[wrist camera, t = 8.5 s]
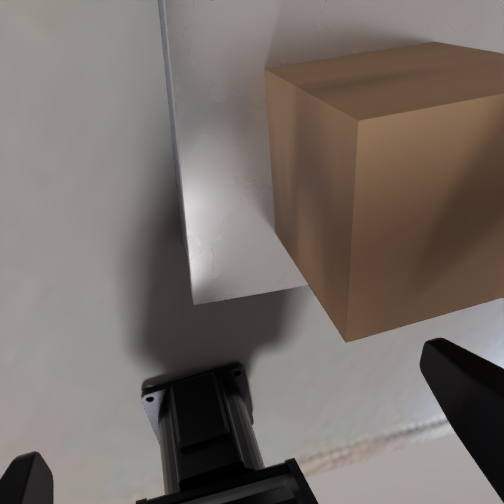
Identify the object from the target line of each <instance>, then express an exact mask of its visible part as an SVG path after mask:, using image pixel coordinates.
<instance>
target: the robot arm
mask: <svg viewBox="0 0 504 504" xmlns="http://www.w3.org/2000/svg"><path fill="white" fill-rule="evenodd" d="M420 369H421V372H422V374H423V376H424V378H425V380H426V381H427V383H428V385H429V387H430V389H431V390H432V392H433V394H434V396H435V398H436V399H437V401H438V403H439V405H440V407H441V409H442V410H443V412H444V414H445V416H446V418H447V419H448V421H449V423H450V424H451V426H452V428H453V429H454V431H455V433H456V434H457V436H458V437H459V438H460V440H461V442H462V443H463V444H464V446H465V447H466V449H467V450H468V452H469V453H470V455H471V456H472V457H473V459H474V460H475V462H476V463H477V465H478V466H479V468H480V469H481V470H482V472H483V473H484V475H485V476H486V478H487V479H488V481H489V482H490V484H491V485H492V486H493V488H494V489H495V491H496V492H497V494H498V495H499V497H500V498H501V500H502V501H503V503H504V369H503V368H501V367H499V366H497V365H495V364H494V363H492V362H490V361H488V360H486V359H484V358H482V357H480V356H478V355H476V354H474V353H472V352H470V351H468V350H466V349H464V348H462V347H460V346H458V345H456V344H454V343H452V342H450V341H448V340H446V339H444V338H435V339H432V340H428V341H426V342H425V343H424V346H423V350H422V355H421V359H420ZM141 398H142V404H143V406H144V408H145V411H146V413H147V415H148V418H149V420H150V423H151V425H152V427H153V430H154V432H155V435H156V437H157V439H158V442H159V444H160V449H161V459H162V470H163V480H164V490H165V495H163V496H160V497H156V498H153V499H149V500H147V498H145V499H142V500H138V501H136V504H318V502H317V500H316V498H315V496H314V494H313V493H312V491H311V489H310V487H309V485H308V483H307V481H306V479H305V477H304V475H303V473H302V472H301V470H300V468H299V466H298V464H297V462H296V460H295V458H292V459H288V460H285V462H284V463H280V464H277V465H273V466H269V467H266V468H265V466H264V463H263V460H262V457H261V454H260V450H259V447H258V444H257V441H256V438H255V434H254V431H253V428H252V425H253V422H254V421H253V416H252V410H251V404H250V398H249V392H248V387H247V381H246V375H245V370H244V367H243V365H242V364H240V363H235V364H231V365H228V366H225V367H221V368H218V369H214V370H211V371H207V372H204V373H201V374H197V375H194V376H190V377H187V378H184V379H180V380H177V381H173V382H170V383H166V384H163V385H160V386H156V387H153V388H149V389H146V390H144V391H143V392H142V394H141ZM0 504H53V476H52V472H51V470H50V469H49V467H48V466H47V464H46V462H45V461H44V459H43V458H42V456H41V455H40V453H39V452H36V451H34V452H30V453H27V454H23V455H20V456H17V457H16V458H15V459H14V460H13V461H12V462H11V464H10V465H9V467H8V468H7V470H6V471H5V473H4V474H3V476H2V478H1V479H0Z"/></svg>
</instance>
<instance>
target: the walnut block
mask: <svg viewBox="0 0 504 504" xmlns="http://www.w3.org/2000/svg"><path fill="white" fill-rule="evenodd" d="M264 74H265V88H266V102H267V117H268V131H269V145H270V159H271V174H272V188H273V202H274V217H275V231H276V235H277V237H278V238H279V240H280V242H281V243H282V245H283V246H284V248H285V249H286V251H287V252H288V254H289V255H290V257H291V259H292V260H293V262H294V263H295V265H296V266H297V268H298V269H299V271H300V272H301V274H302V276H303V277H304V279H305V280H306V282H307V283H308V285H309V286H310V288H311V290H312V291H313V293H314V294H315V296H316V297H317V299H318V300H319V302H320V303H321V305H322V307H323V308H324V310H325V311H326V313H327V314H328V316H329V317H330V319H331V320H332V322H333V324H334V325H335V327H336V328H337V330H338V331H339V333H340V334H341V336H342V338H343V339H344V341H345V342H346V343H347V342H350V341H354V340H357V339H361V338H364V337H368V336H371V335H375V334H378V333H382V332H385V331H388V330H392V329H395V328H399V327H402V326H406V325H409V324H413V323H416V322H420V321H423V320H427V319H430V318H433V317H437V316H440V315H444V314H447V313H451V312H454V311H458V310H461V309H465V308H468V307H471V306H475V305H478V304H482V303H485V302H489V301H492V300H496V299H499V298H503V297H504V53H499V52H493V51H487V50H481V49H475V48H469V47H464V46H458V45H452V44H446V43H440V42H432V43H426V44H419V45H413V46H407V47H400V48H394V49H387V50H381V51H375V52H368V53H362V54H355V55H349V56H343V57H336V58H330V59H324V60H317V61H311V62H304V63H298V64H292V65H285V66H279V67H272V68H266V69H264Z"/></svg>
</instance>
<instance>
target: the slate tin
mask: <svg viewBox="0 0 504 504" xmlns="http://www.w3.org/2000/svg"><path fill="white" fill-rule="evenodd" d="M158 6H159V16H160V26H161V35H162V45H163V55H164V64H165V74H166V84H167V93H168V103H169V113H170V122H171V132H172V142H173V151H174V161H175V171H176V180H177V190H178V200H179V209H180V219H181V229H182V238H183V245H184V249H185V252H186V256H187V260H188V264H189V275H190V285H191V295H192V300H193V304H194V305H199V304H204V303H210V302H216V301H221V300H227V299H233V298H238V297H244V296H250V295H256V294H261V293H267V292H273V291H278V290H284V289H290V288H295V287H301V286H307V285H308V283H307V282H306V280H305V279H304V277H303V276H302V274H301V272H300V271H299V269H298V268H297V266H296V265H295V263H294V262H293V260H292V259H291V257H290V255H289V254H288V252H287V251H286V249H285V248H284V246H283V245H282V243H281V242H280V240H279V238H278V237H277V235H276V231H275V217H274V202H273V188H272V174H271V159H270V145H269V131H268V117H267V102H266V88H265V74H264V69H266V68H272V67H279V66H285V65H292V64H298V63H304V62H311V61H317V60H324V59H330V58H336V57H343V56H349V55H355V54H362V53H368V52H375V51H381V50H387V49H394V48H400V47H407V46H413V45H419V44H426V43H432V42H440V43H446V44H452V45H458V46H464V47H469V48H475V49H481V50H487V51H493V52H499V53H504V0H158Z"/></svg>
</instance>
